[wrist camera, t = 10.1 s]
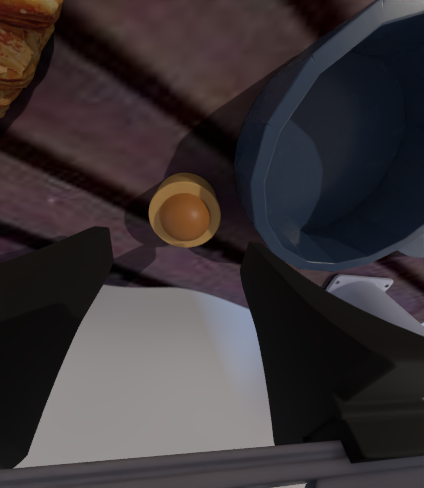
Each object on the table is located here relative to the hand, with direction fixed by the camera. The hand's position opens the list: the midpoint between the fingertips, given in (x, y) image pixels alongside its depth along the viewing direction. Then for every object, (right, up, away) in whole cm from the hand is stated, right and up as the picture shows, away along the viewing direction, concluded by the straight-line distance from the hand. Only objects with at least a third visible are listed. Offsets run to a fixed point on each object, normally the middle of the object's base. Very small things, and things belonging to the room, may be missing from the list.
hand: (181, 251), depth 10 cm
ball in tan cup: (-1, +4, +6) cm, 7 cm away
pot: (+10, +7, +5) cm, 13 cm away
